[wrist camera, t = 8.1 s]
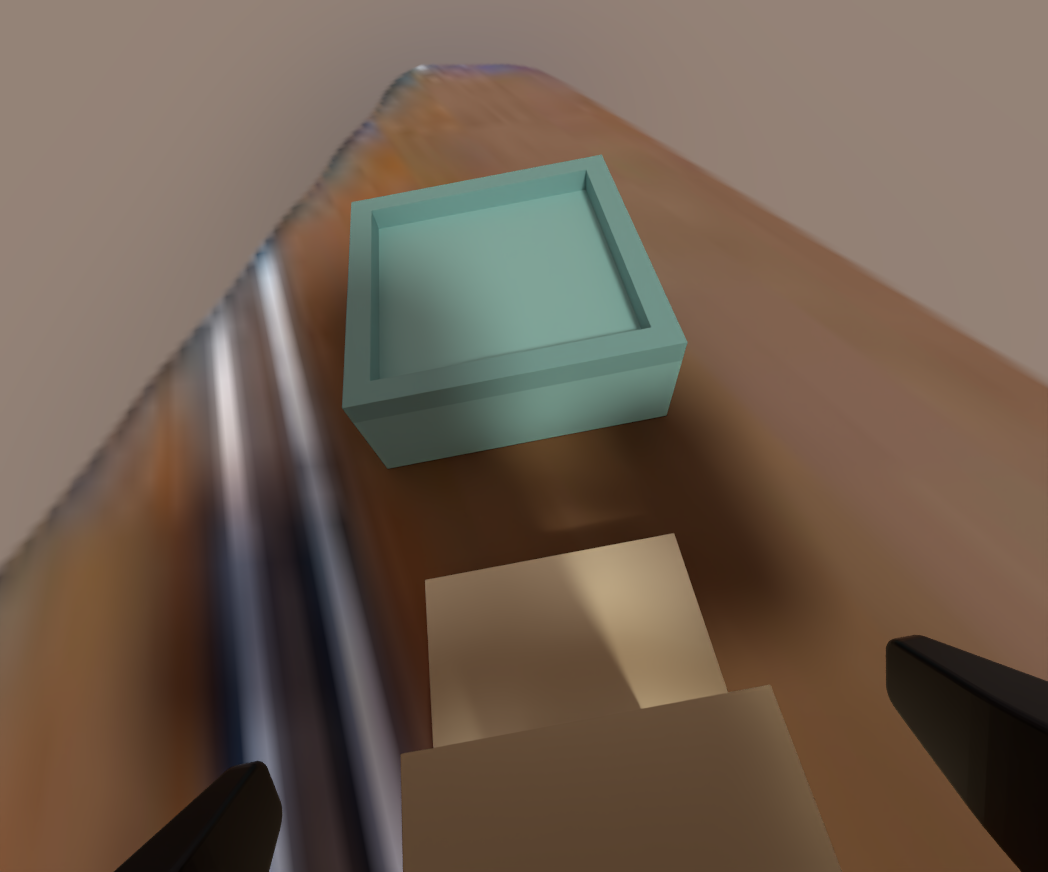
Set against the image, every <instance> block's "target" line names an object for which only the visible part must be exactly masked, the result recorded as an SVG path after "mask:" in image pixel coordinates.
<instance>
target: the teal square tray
mask: <svg viewBox="0 0 1048 872" xmlns="http://www.w3.org/2000/svg"><path fill="white" fill-rule="evenodd" d="M686 345H687V341H686V338H685V336H684V334H683V332H682V330H681V327H680V325H679V323H678V321H677V319H676V317H675V314H674V312H673V310H672V308H671V306H670V303H669V301H668V299H667V297H666V295H665V292H664V290H663V288H662V286H661V284H660V281H659V279H658V277H657V275H656V273H655V271H654V268H653V266H652V264H651V262H650V260H649V257H648V255H647V253H646V251H645V249H644V246H643V244H642V242H641V240H640V238H639V236H638V233H637V231H636V229H635V227H634V225H633V222H632V220H631V218H630V216H629V214H628V211H627V209H626V207H625V205H624V203H623V200H622V198H621V196H620V194H619V192H618V190H617V187H616V185H615V183H614V181H613V179H612V176H611V174H610V172H609V170H608V168H607V165H606V163H605V161H604V159H603V157H602V155H597V156H592V157H587V158H582V159H577V160H571V161H566V162H561V163H556V164H550V165H545V166H540V167H535V168H529V169H524V170H519V171H514V172H508V173H503V174H498V175H493V176H487V177H482V178H477V179H472V180H466V181H461V182H456V183H451V184H446V185H440V186H435V187H430V188H425V189H419V190H414V191H409V192H404V193H398V194H393V195H388V196H383V197H377V198H372V199H367V200H362V201H356V202H352V204H351V226H350V248H349V269H348V291H347V313H346V335H345V357H344V378H343V400H342V409H343V410H344V411H345V413H346V414H347V415H348V417H349V418H350V419H351V421H352V422H353V423H354V425H355V426H356V427H357V429H358V430H359V431H360V433H361V434H362V435H363V437H364V438H365V439H366V441H367V442H368V443H369V445H370V446H371V447H372V449H373V450H374V451H375V453H376V454H377V455H378V457H379V458H380V459H381V461H382V462H383V463H384V465H385V466H386V467H387V469H389V468H394V467H399V466H404V465H410V464H415V463H420V462H425V461H431V460H436V459H441V458H446V457H452V456H457V455H462V454H467V453H473V452H478V451H483V450H488V449H494V448H499V447H504V446H509V445H515V444H520V443H525V442H530V441H536V440H541V439H546V438H551V437H557V436H562V435H567V434H572V433H578V432H583V431H588V430H593V429H598V428H604V427H609V426H614V425H619V424H625V423H630V422H635V421H640V420H646V419H651V418H656V417H661V416H667V412H668V409H669V405H670V402H671V398H672V395H673V391H674V387H675V384H676V380H677V377H678V373H679V370H680V366H681V363H682V359H683V356H684V352H685V349H686Z"/></svg>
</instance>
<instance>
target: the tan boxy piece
mask: <svg viewBox="0 0 1048 872" xmlns="http://www.w3.org/2000/svg"><path fill="white" fill-rule="evenodd" d="M425 592H426V612H427V632H428V652H429V672H430V692H431V712H432V732H433V748H430V749H425V750H419V751H414V752H409V753H403V754H401V799H402V850H403V872H842V870H841V868H840V865H839V862H838V860H837V857H836V855H835V852H834V849H833V847H832V844H831V842H830V839H829V836H828V834H827V831H826V828H825V826H824V823H823V821H822V818H821V815H820V813H819V810H818V808H817V805H816V802H815V800H814V797H813V795H812V792H811V789H810V787H809V784H808V781H807V779H806V776H805V774H804V771H803V768H802V766H801V763H800V761H799V758H798V755H797V753H796V750H795V748H794V745H793V742H792V740H791V737H790V734H789V732H788V729H787V727H786V724H785V721H784V719H783V716H782V714H781V711H780V708H779V706H778V703H777V700H776V698H775V695H774V693H773V690H772V687H771V685H766V686H761V687H755V688H750V689H745V690H739V691H734V692H729V693H728V691H727V688H726V685H725V682H724V679H723V676H722V673H721V670H720V667H719V664H718V661H717V658H716V656H715V653H714V650H713V647H712V644H711V641H710V638H709V635H708V632H707V629H706V626H705V623H704V620H703V617H702V614H701V611H700V608H699V605H698V602H697V599H696V596H695V594H694V591H693V588H692V585H691V582H690V579H689V576H688V573H687V570H686V567H685V564H684V561H683V558H682V555H681V552H680V549H679V546H678V543H677V540H676V537H675V534H674V533H672V534H667V535H662V536H656V537H651V538H646V539H640V540H635V541H630V542H624V543H619V544H614V545H608V546H603V547H598V548H592V549H587V550H582V551H576V552H571V553H566V554H560V555H555V556H550V557H544V558H539V559H534V560H529V561H523V562H518V563H513V564H507V565H502V566H497V567H491V568H486V569H481V570H475V571H470V572H465V573H459V574H454V575H449V576H443V577H438V578H433V579H427V580H425Z"/></svg>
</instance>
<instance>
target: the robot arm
mask: <svg viewBox="0 0 1048 872" xmlns="http://www.w3.org/2000/svg"><path fill="white" fill-rule="evenodd" d="M886 688H887V692H888V696H889V698H890V700H891V702H892V704H893V706H894V707H895V709H896V710H897V711H898V713H899V714H900V715H901V717H902V718H903V720H904V721H905V722H906V724H907V725H908V726H909V728H910V729H911V730H912V732H913V733H914V734H915V736H916V737H917V739H918V740H919V741H920V743H921V744H922V745H923V747H924V748H925V749H926V751H927V752H928V753H929V755H930V756H931V757H932V759H933V760H934V762H935V763H936V764H937V766H938V767H939V768H940V770H941V771H942V772H943V774H944V775H945V776H946V778H947V779H948V781H949V782H950V783H951V785H952V786H953V787H954V789H955V790H956V791H957V793H958V794H959V795H960V797H961V798H962V799H963V801H964V802H965V804H966V805H967V806H968V807H969V809H970V810H971V811H972V813H973V814H974V815H975V817H976V818H977V819H978V820H979V822H980V823H981V824H982V826H983V827H984V828H985V829H986V830H987V832H988V833H989V834H990V835H991V836H992V838H993V839H994V840H995V841H996V842H997V844H998V845H999V846H1000V847H1001V848H1002V850H1003V851H1004V852H1005V853H1006V854H1007V855H1008V857H1009V858H1010V859H1011V860H1012V861H1013V862H1014V864H1015V865H1016V866H1017V867H1018V868H1019V869H1020V871H1021V872H1048V681H1045V680H1043V679H1040V678H1037V677H1034V676H1032V675H1029V674H1026V673H1023V672H1021V671H1018V670H1015V669H1012V668H1010V667H1007V666H1004V665H1002V664H999V663H996V662H993V661H991V660H988V659H985V658H982V657H980V656H977V655H974V654H971V653H969V652H966V651H963V650H961V649H958V648H955V647H952V646H950V645H947V644H944V643H941V642H939V641H936V640H933V639H930V638H928V637H925V636H921V635H911V636H906V637H901V638H896V639H892V640H890V641H889V642H888V644H887V646H886ZM281 822H282V805H281V801H280V799H279V796H278V794H277V791H276V788H275V786H274V783H273V781H272V778H271V776H270V773H269V770H268V768H267V766H266V765H265V764H264V763H263V762H260V761H255V762H250V763H245V764H240V765H236V766H233V767H231V768H229V769H228V770H227V771H226V772H224V773H223V774H222V775H221V776H220V777H219V778H218V779H217V780H215V781H214V782H213V783H212V784H211V785H210V786H209V787H208V788H207V789H205V790H204V791H203V792H202V793H201V794H200V795H199V796H198V797H197V798H195V799H194V800H193V801H192V802H191V803H190V804H189V805H188V806H187V807H185V808H184V809H183V810H182V811H181V812H180V813H179V814H178V815H176V816H175V817H174V818H173V819H172V820H171V821H170V822H169V823H168V824H166V825H165V826H164V827H163V828H162V829H161V830H160V831H159V832H158V833H156V834H155V835H154V836H153V837H152V838H151V839H150V840H149V841H147V842H146V843H145V844H144V845H143V846H142V847H141V848H140V849H139V850H137V851H136V852H135V853H134V854H133V855H132V856H131V857H130V858H129V859H127V860H126V861H125V862H124V863H123V864H122V865H121V866H120V867H118V868H117V869H116V870H115V871H114V872H269V869H270V866H271V862H272V858H273V854H274V850H275V846H276V843H277V839H278V835H279V831H280V827H281Z"/></svg>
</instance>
